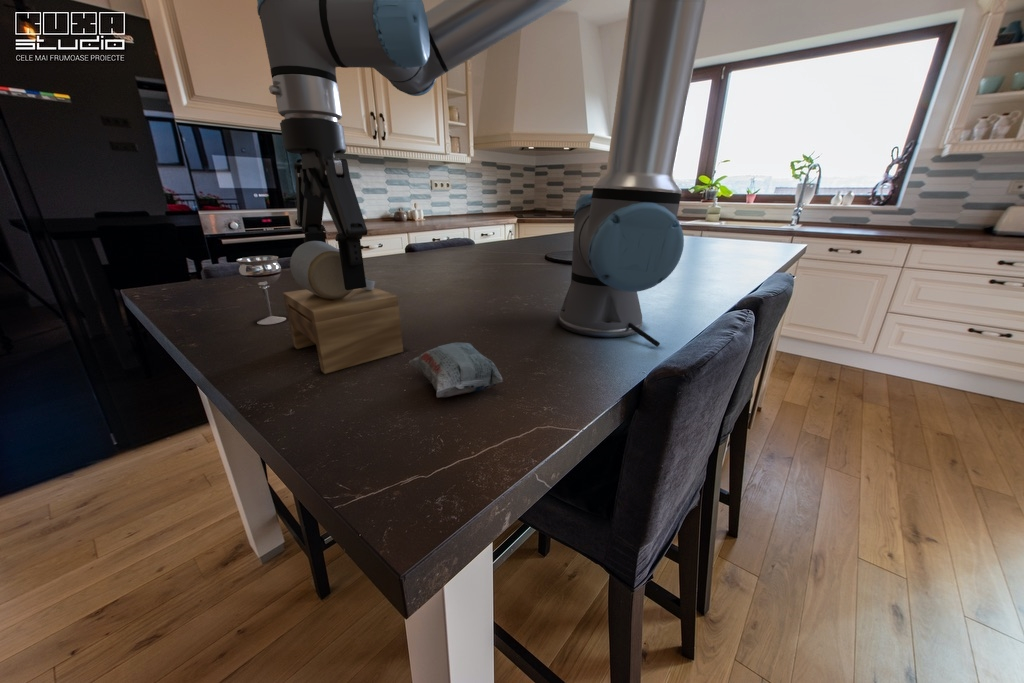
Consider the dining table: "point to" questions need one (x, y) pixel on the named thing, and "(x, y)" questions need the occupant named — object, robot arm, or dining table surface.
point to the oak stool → (345, 326)
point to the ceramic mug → (321, 270)
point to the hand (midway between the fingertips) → (337, 281)
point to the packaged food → (457, 369)
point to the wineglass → (262, 278)
